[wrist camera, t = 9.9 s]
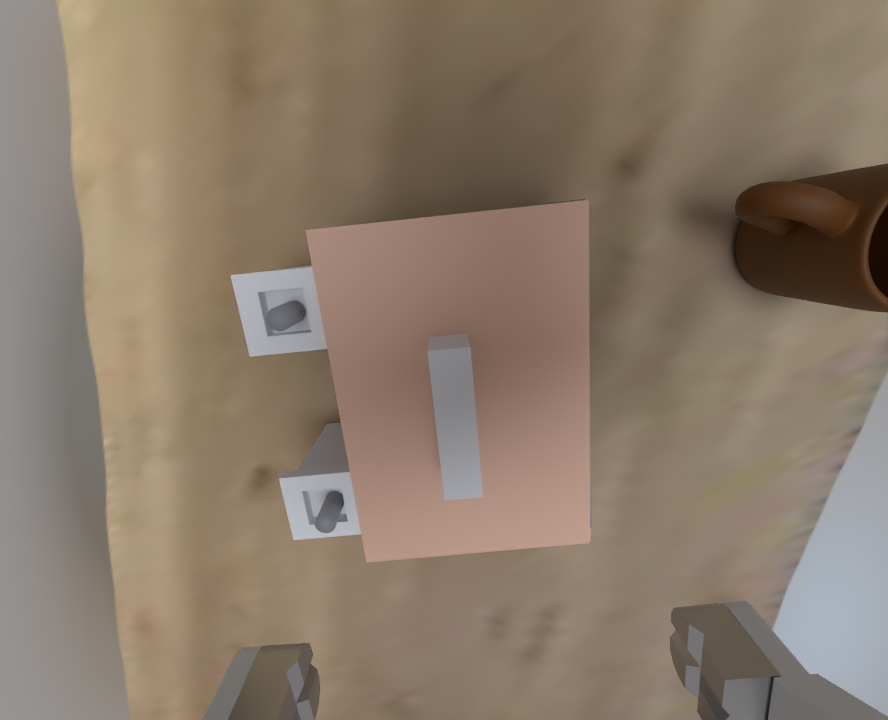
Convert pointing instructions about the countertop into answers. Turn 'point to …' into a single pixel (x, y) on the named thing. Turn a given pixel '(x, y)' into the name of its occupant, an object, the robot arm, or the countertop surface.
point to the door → (447, 378)
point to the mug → (818, 238)
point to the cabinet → (329, 447)
